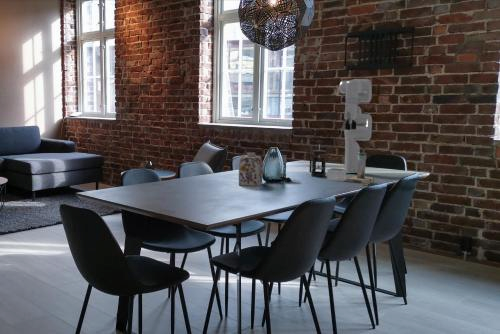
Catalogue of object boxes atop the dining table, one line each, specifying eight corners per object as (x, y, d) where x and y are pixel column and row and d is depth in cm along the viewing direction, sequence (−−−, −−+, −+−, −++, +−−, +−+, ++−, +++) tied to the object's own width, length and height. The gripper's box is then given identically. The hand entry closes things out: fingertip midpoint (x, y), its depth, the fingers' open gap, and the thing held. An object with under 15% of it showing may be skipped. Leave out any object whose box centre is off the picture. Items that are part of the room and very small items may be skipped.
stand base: (331, 178, 314) (331, 167, 313) (349, 180, 308) (350, 169, 307) (323, 181, 304) (323, 169, 303) (342, 183, 297) (342, 171, 297)
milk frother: (276, 178, 314) (276, 154, 312) (298, 180, 305) (299, 155, 304) (264, 180, 302) (264, 155, 300) (287, 183, 294) (288, 157, 292)
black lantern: (329, 178, 318) (331, 141, 315) (321, 179, 311) (322, 141, 308) (314, 176, 326) (315, 140, 323) (305, 177, 319) (306, 140, 316)
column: (358, 177, 301) (359, 152, 300) (366, 178, 299) (367, 153, 297) (355, 178, 297) (356, 153, 295) (363, 178, 294) (364, 153, 293)
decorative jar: (258, 186, 280) (259, 154, 278) (238, 185, 282) (238, 153, 280) (262, 183, 292) (263, 152, 289) (242, 182, 294) (243, 151, 292)
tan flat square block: (354, 181, 306) (354, 176, 306) (374, 182, 300) (374, 177, 299) (347, 183, 296) (347, 178, 295) (367, 185, 290) (367, 180, 289)
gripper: (351, 101, 321) (349, 129, 323) (340, 101, 306) (339, 129, 308) (362, 101, 317) (361, 129, 319) (352, 101, 302) (351, 130, 304)
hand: (350, 129), depth 314 cm, fingers open, 9 cm apart
